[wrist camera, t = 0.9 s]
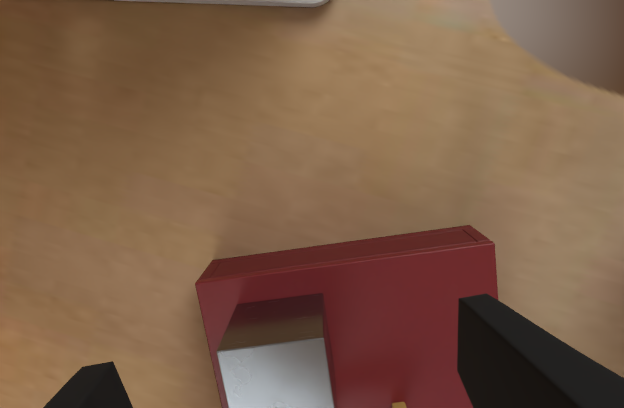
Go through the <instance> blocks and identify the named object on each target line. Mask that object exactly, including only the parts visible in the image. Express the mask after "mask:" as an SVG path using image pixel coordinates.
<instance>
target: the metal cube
mask: <svg viewBox="0 0 624 408" xmlns="http://www.w3.org/2000/svg"><path fill="white" fill-rule="evenodd" d="M217 357H218V362H219V366H220V371H221V376H222V380H223V385H224V390H225V394H226V399H227V404H228V408H337V397H336V380H335V368H334V361H333V355H332V348H331V342H330V335H329V329H328V322H327V315H326V309H325V302H324V296H323V293H317V294H310V295H302V296H295V297H287V298H280V299H272V300H264V301H257V302H249V303H242V304H237V305H236V307H235V310H234V312H233V314H232V317H231V319H230V321H229V324H228V326H227V328H226V330H225V333H224V335H223V337H222V340H221V342H220V344H219V347H218V349H217Z"/></svg>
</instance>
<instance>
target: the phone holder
mask: <svg viewBox="0 0 624 408" xmlns="http://www.w3.org/2000/svg"><path fill="white" fill-rule="evenodd" d="M116 1H145V2H174V3H203V4H232V5H261V6H290V7H317V6H321V5H323V4H325V3H326V2H328V1H329V0H116Z"/></svg>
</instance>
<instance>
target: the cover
mask: <svg viewBox="0 0 624 408" xmlns="http://www.w3.org/2000/svg"><path fill="white" fill-rule="evenodd" d="M195 285H196V290H197V295H198V299H199V304H200V308H201V313H202V317H203V322H204V327H205V331H206V336H207V340H208V345H209V350H210V354H211V359H212V363H213V368H214V372H215V377H216V382H217V386H218V391H219V395H220V400H221V405H222V408H228V404H227V399H226V394H225V390H224V385H223V380H222V376H221V371H220V366H219V362H218V357H217V349H218V347H219V344H220V342H221V340H222V337H223V335H224V333H225V330H226V328H227V326H228V324H229V321H230V319H231V317H232V314H233V312H234V310H235V307H236V305H237V304H242V303H249V302H257V301H264V300H272V299H280V298H287V297H295V296H302V295H310V294H317V293H323V296H324V302H325V309H326V315H327V322H328V329H329V335H330V342H331V348H332V355H333V361H334V368H335V380H336V397H337V408H473V406H472V404H471V401H470V399H469V397H468V395H467V392H466V390H465V388H464V385H463V383H462V381H461V378H460V376H459V374H458V371H457V352H458V301H459V298H464V297H469V296H475V295H480V294H486V293H487V294H489V295H490V296H492V297H493V298H495V299H497V300H498V291H497V275H496V259H495V244H494V243H493V242H492V241H490V240H489V241H482V242H474V243H467V244H460V245H452V246H445V247H437V248H430V249H423V250H415V251H408V252H400V253H393V254H386V255H378V256H371V257H363V258H356V259H349V260H341V261H334V262H327V263H319V264H312V265H304V266H297V267H290V268H282V269H275V270H267V271H260V272H253V273H245V274H238V275H230V276H223V277H216V278H208V279H201V280H197V282H196V283H195Z"/></svg>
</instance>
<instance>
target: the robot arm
mask: <svg viewBox="0 0 624 408" xmlns="http://www.w3.org/2000/svg"><path fill="white" fill-rule="evenodd" d="M457 371H458V374H459V376H460V378H461V381H462V383H463V385H464V388H465V390H466V392H467V395H468V397H469V399H470V401H471V404H472V406H473V408H624V378H623V377H621V376H619V375H617V374H616V373H614V372H612V371H610V370H609V369H607V368H605V367H604V366H602V365H600V364H598V363H597V362H595V361H593V360H592V359H590V358H588V357H587V356H585V355H583V354H582V353H580V352H579V351H577V350H575V349H574V348H572V347H570V346H569V345H567V344H566V343H564V342H562V341H561V340H559V339H558V338H556V337H554V336H553V335H551V334H550V333H548V332H547V331H545V330H543V329H542V328H540V327H539V326H537V325H536V324H534V323H532V322H531V321H529V320H528V319H526V318H525V317H523V316H522V315H520V314H519V313H517V312H515V311H514V310H512V309H511V308H509V307H508V306H506V305H505V304H503V303H501V302H500V301H498V300H497V299H495V298H493V297H492V296H490V295H489V294H487V293H486V294H480V295H475V296H469V297H464V298H459V301H458V352H457ZM44 408H133V407H132V404H131V402H130V400H129V397H128V395H127V393H126V391H125V388H124V386H123V384H122V381H121V379H120V377H119V374H118V372H117V370H116V368H115V365H114V363H113V362H107V363H102V364H96V365H91V366H85V367H82V368H81V369H80V370H79V371H78V372H77V373H76V374H75V375H74V376H73V377H72V378H71V379H70V380H69V381H68V382H67V383H66V384H65V385H64V386H63V387H62V388H61V389H60V390H59V391H58V392H57V394H56V395H55V396H54V397H53V398H52V399H51V400H50V401H49V402H48V403H47V404H46V405H45V406H44Z"/></svg>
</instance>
